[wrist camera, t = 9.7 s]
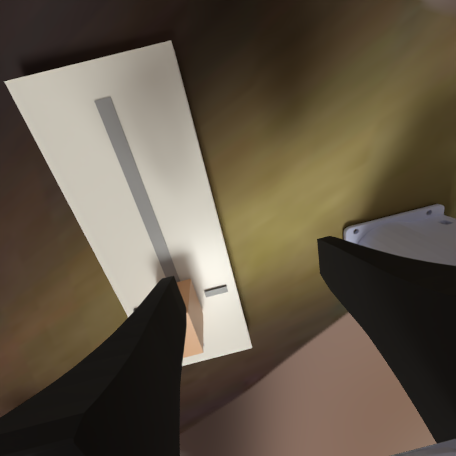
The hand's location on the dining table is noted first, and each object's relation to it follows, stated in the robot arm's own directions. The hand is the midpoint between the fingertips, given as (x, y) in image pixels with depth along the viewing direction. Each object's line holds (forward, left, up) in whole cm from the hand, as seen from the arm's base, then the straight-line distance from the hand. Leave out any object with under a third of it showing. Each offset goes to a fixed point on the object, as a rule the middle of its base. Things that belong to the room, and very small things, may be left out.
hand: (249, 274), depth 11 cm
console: (+6, +1, -9) cm, 11 cm away
